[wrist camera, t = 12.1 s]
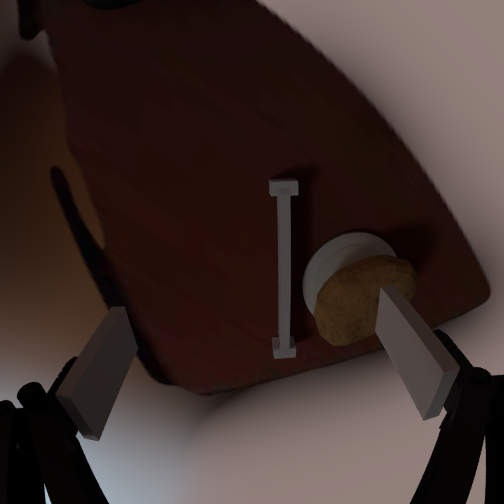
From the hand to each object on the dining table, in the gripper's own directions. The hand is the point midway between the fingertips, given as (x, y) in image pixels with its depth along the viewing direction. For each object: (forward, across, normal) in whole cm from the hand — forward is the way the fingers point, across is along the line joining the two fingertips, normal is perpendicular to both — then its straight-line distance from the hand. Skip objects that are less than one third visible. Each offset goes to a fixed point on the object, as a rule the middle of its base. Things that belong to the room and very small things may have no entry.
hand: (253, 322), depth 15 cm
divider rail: (+24, +4, -8) cm, 25 cm away
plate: (+24, +13, -11) cm, 29 cm away
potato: (+23, +13, -11) cm, 28 cm away
